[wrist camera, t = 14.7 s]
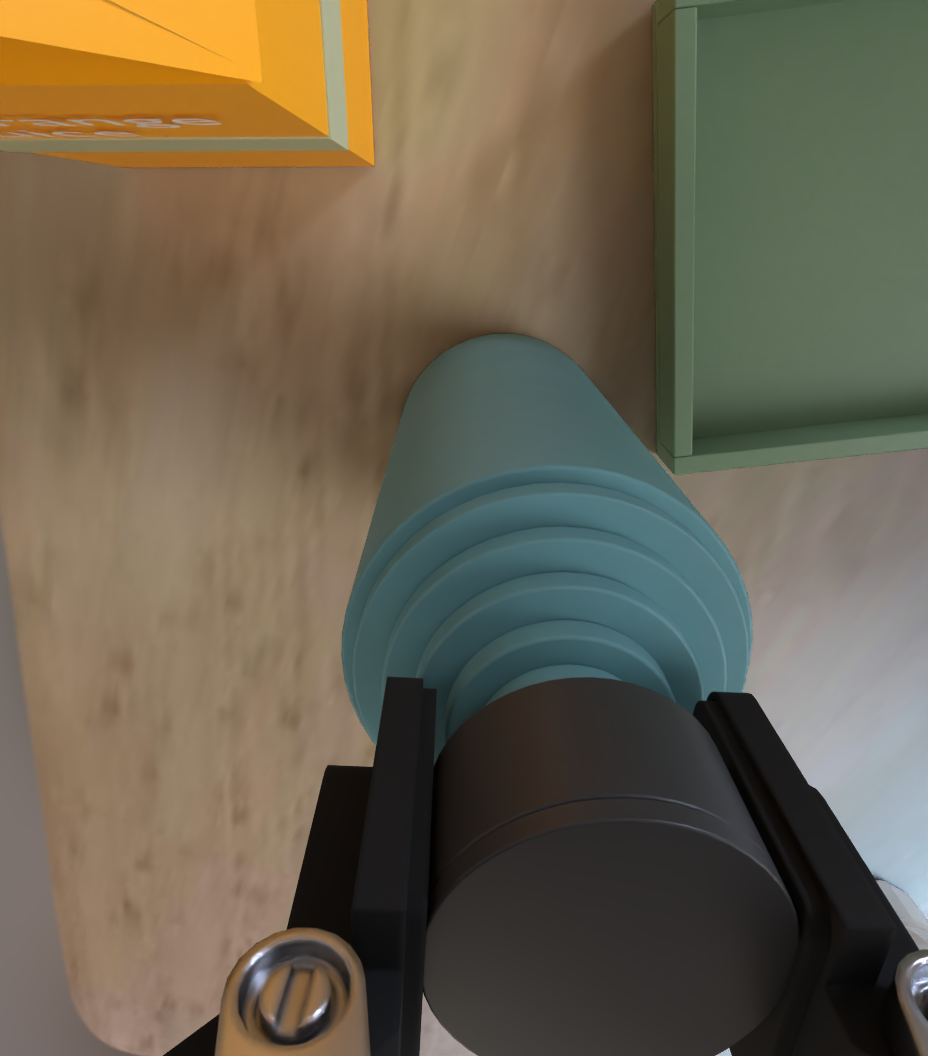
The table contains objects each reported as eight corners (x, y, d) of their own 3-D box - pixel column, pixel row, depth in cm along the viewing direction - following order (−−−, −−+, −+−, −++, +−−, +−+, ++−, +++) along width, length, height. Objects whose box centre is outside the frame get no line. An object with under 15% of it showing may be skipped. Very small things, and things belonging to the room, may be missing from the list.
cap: (719, 896, 10) (787, 1073, 8) (443, 918, 10) (439, 1098, 8) (730, 661, 9) (818, 803, 7) (409, 690, 9) (394, 837, 7)
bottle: (386, 345, 24) (200, 677, 7) (599, 321, 24) (984, 600, 6) (414, 539, 27) (334, 1137, 9) (606, 519, 27) (891, 1095, 9)
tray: (652, 5, 21) (674, -21, 19) (1210, -68, 20) (1298, -101, 18) (656, 454, 26) (673, 475, 24) (1101, 406, 25) (1161, 423, 23)
